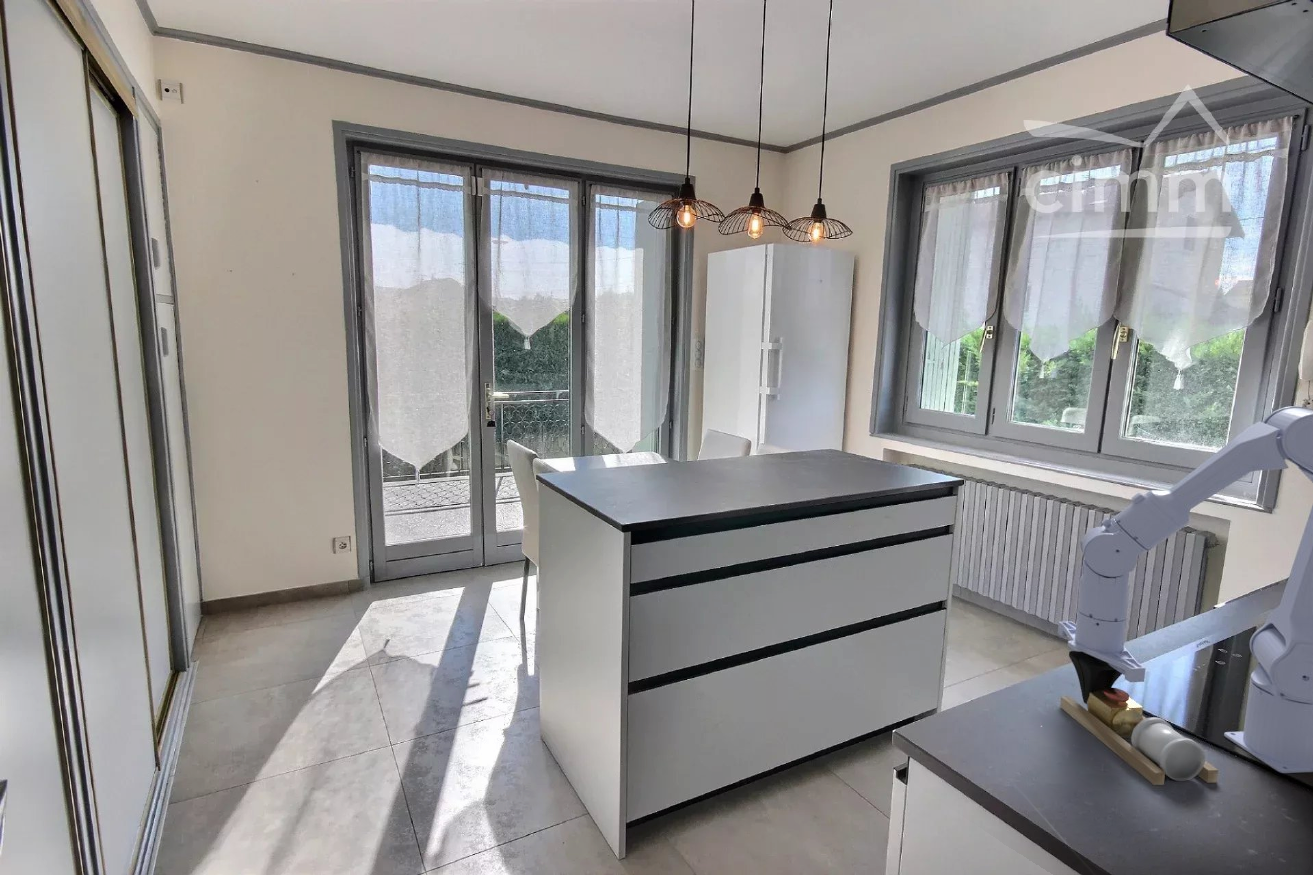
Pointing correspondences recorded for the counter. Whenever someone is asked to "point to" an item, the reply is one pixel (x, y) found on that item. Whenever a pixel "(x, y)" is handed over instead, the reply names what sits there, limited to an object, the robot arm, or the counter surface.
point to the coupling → (1168, 749)
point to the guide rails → (1125, 745)
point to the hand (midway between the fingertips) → (1093, 704)
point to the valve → (1115, 710)
